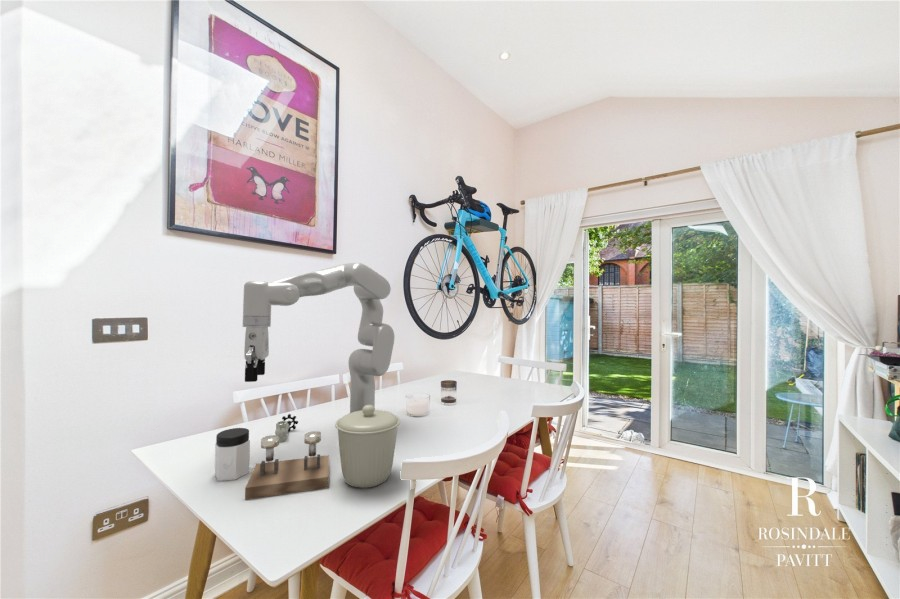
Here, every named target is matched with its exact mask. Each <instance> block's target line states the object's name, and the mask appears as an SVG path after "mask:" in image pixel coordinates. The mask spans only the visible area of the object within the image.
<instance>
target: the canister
mask: <svg viewBox="0 0 900 599" xmlns="http://www.w3.org/2000/svg"><path fill="white" fill-rule="evenodd" d="M400 424H401V419H400V418H399V416H397V415H395V414H394V413H392V412H390V411H386V410H382V409H376V408H374V406H373V405H365V406H364V407H363V409H362V410H361V411H355V412H352V413H350V412H349V413H346V414H344V415H343V416H342V417H340V418H338V419H337V420H336V421H335V424H334V427H335V429H336V430H337V434H338V435H337V437H338V438H337V439H338V446H339V459H340V465H341V473H342V477H343V479H344V481H345V482H346V483H347V484H348V485H350V486H351V487H355V488H361V489H364V488H365V489H366V488H373V487H376V486H378V485H382V484H383V483H384V482H385V481H387V479H388V478H389V477H390V475H391V473H392V468H393V463H394V457H395V449H396V443H397V433H398V426H399V425H400Z"/></svg>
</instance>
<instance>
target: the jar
mask: <svg viewBox="0 0 900 599" xmlns="http://www.w3.org/2000/svg"><path fill="white" fill-rule="evenodd" d="M215 438H216V441H215V444H214V445H215V446H214V448H215V450H214V451H215V452H214V454H215V455H214V456H215V457H214V476H215V478H216V480H217V481H218V482H224V481H226V482H227V481H234V480H235V481H236V480H238V479H239V478H241V477H243V476H245V475H247V474H248V473H249V472H250V459H251V458H250V454H251V453H250V452H251V450H250V449H251V448H250V447H251V446H250V445H251V441H250V430H249V429H248V428H245V427H235V428H229V429H225V430H222V431H220V432H218V433H217V434H216V437H215Z"/></svg>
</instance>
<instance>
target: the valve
mask: <svg viewBox="0 0 900 599" xmlns="http://www.w3.org/2000/svg"><path fill="white" fill-rule="evenodd" d="M296 419H297V416H295V415H293V416H292V414H291V413H288V414H287V416H286V415H285V416H283V415H282V418H281V420H280V421H277V422H276V423H275V430H274V431H275V432H274V435H277V436H279V444H280V443H284V442H287V440H288V432H290V431H291V430H296V429H297V426H296V425H298V424H299V421H298V420H296ZM292 423H293V424H292Z"/></svg>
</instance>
